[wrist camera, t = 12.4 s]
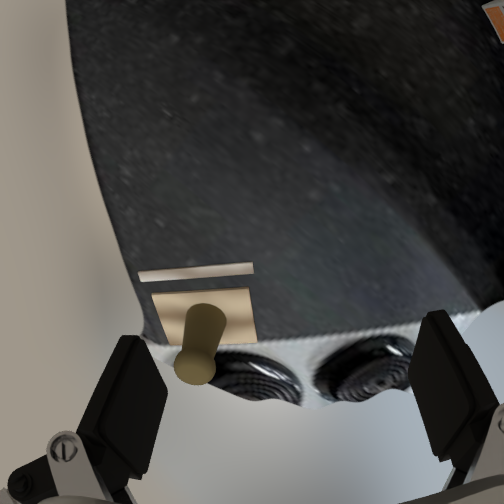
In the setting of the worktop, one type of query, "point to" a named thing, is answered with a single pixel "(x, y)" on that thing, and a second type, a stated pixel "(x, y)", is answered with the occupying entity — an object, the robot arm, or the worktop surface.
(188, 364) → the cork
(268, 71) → the worktop surface
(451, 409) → the robot arm
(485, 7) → the skincare box
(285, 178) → the worktop surface
